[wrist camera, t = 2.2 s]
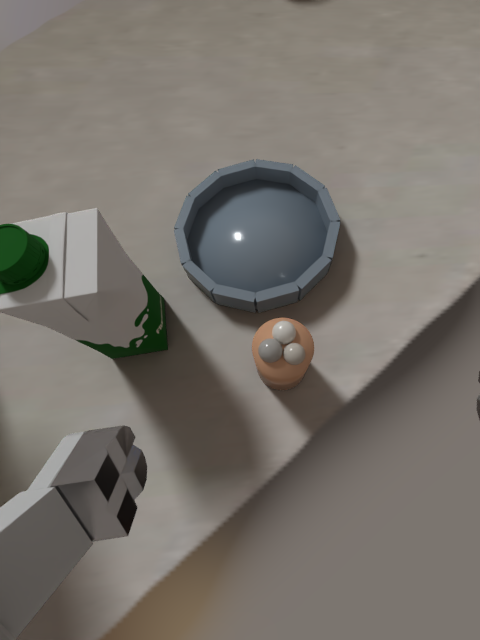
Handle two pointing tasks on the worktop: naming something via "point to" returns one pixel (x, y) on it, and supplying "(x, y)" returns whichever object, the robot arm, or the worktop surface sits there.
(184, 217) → the slate bowl
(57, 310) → the milk carton
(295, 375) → the pebble cup
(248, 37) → the worktop surface
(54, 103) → the worktop surface
